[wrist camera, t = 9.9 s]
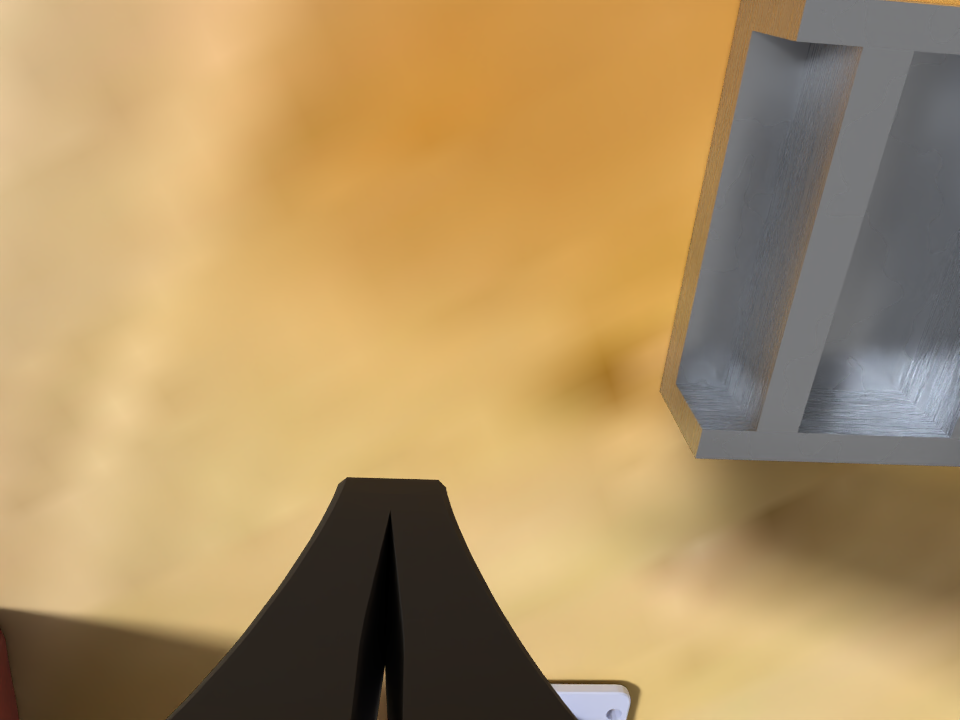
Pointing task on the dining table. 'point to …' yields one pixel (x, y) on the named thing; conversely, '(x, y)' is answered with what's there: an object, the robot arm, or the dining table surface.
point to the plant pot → (6, 686)
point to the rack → (827, 242)
